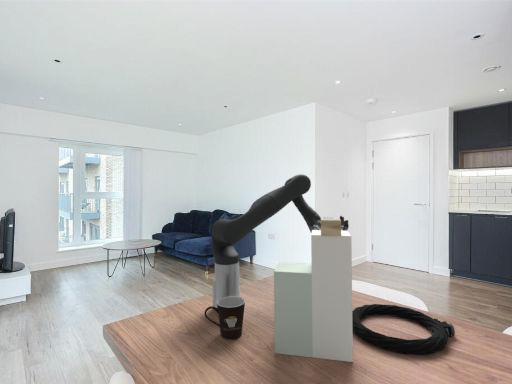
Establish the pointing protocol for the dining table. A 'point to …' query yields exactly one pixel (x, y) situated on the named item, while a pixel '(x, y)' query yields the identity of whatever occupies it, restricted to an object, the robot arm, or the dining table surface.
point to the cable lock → (397, 344)
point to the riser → (316, 301)
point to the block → (330, 227)
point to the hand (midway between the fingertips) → (328, 217)
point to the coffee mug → (229, 316)
